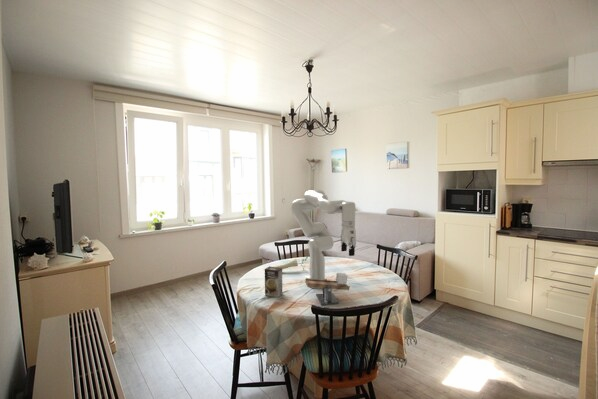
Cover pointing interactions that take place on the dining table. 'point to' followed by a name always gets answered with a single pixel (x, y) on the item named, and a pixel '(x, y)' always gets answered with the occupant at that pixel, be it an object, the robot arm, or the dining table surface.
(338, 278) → the rider
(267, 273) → the coffee box
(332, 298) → the pivot stand
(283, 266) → the flower vase
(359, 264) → the dining table surface
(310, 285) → the beam
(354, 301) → the dining table surface
